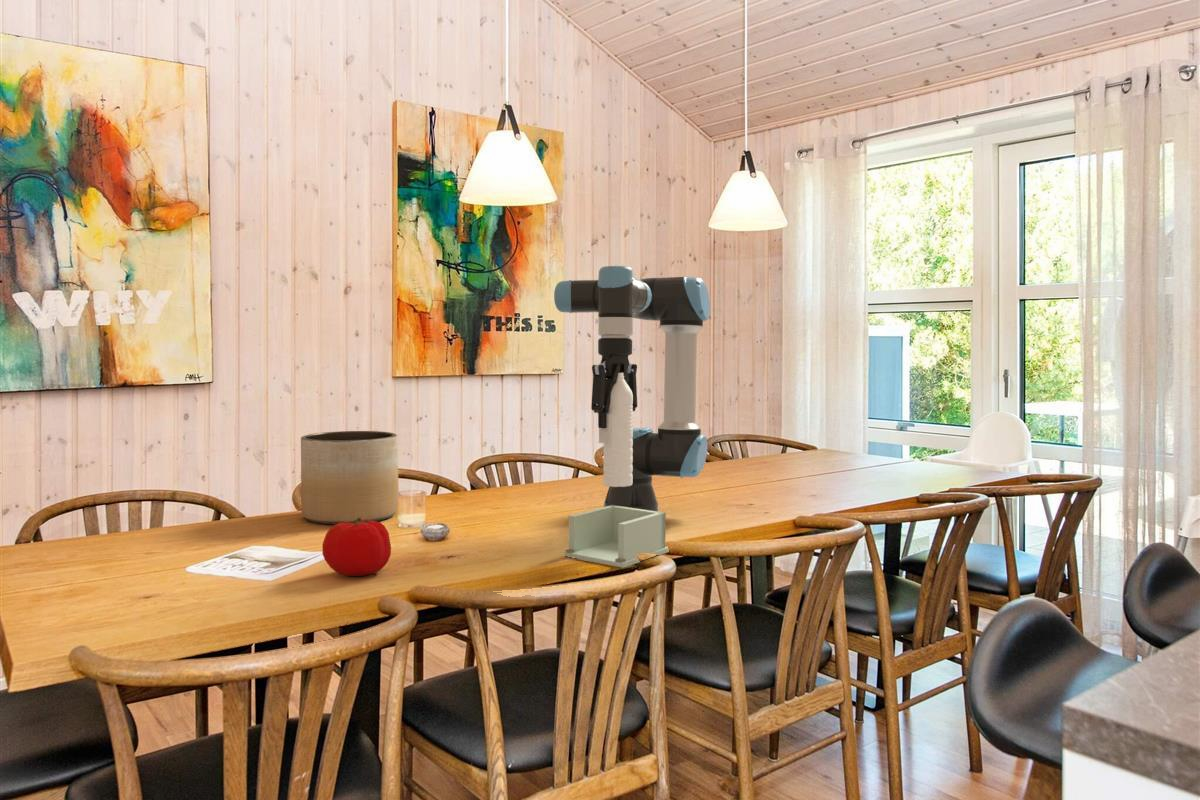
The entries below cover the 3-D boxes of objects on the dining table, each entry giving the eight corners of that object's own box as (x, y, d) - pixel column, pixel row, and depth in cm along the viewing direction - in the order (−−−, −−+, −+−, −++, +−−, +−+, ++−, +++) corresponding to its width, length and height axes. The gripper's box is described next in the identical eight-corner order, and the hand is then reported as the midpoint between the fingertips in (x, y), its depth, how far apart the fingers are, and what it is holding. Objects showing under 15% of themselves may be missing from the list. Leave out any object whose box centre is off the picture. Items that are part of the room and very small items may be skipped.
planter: (413, 519, 234) (412, 436, 233) (317, 530, 220) (315, 443, 218) (379, 504, 255) (378, 428, 254) (290, 514, 241) (288, 434, 239)
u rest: (612, 541, 208) (612, 504, 207) (669, 551, 198) (669, 512, 198) (564, 556, 194) (564, 516, 193) (623, 567, 184) (623, 525, 183)
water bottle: (637, 486, 193) (638, 372, 191) (610, 488, 190) (610, 372, 188) (621, 480, 201) (621, 371, 199) (594, 482, 198) (594, 371, 196)
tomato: (392, 579, 175) (392, 522, 174) (322, 585, 171) (321, 526, 170) (389, 564, 187) (388, 511, 186) (323, 569, 183) (322, 514, 182)
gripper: (627, 337, 203) (626, 437, 204) (573, 336, 187) (573, 444, 189) (654, 337, 198) (653, 439, 200) (601, 336, 183) (601, 446, 184)
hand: (614, 441), depth 194 cm, fingers closed on water bottle, 6 cm apart
